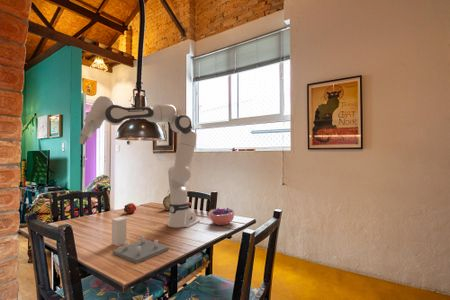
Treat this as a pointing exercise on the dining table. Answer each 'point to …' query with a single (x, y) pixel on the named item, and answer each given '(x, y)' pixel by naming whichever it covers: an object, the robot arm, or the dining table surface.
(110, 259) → the dining table surface
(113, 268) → the dining table surface
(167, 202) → the alarm clock
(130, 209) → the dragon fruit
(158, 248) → the peg cradle
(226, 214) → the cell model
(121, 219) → the cream post
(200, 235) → the dining table surface
